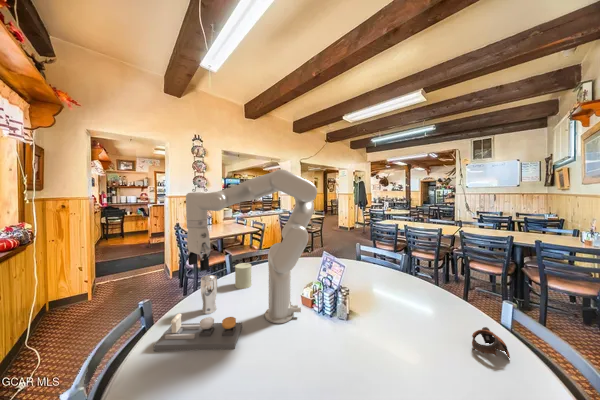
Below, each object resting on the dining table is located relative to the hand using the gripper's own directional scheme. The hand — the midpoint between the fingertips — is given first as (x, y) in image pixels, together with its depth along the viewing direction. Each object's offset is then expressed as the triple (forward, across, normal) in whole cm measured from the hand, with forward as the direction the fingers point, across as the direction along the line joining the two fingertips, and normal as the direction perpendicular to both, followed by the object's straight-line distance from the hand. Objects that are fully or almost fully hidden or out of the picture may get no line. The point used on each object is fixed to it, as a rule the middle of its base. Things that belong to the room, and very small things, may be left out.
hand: (198, 266), depth 87 cm
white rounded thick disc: (+20, -9, +2) cm, 22 cm away
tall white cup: (+24, +8, -8) cm, 27 cm away
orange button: (+20, -15, -4) cm, 26 cm away
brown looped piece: (+26, -89, -58) cm, 109 cm away
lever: (+22, -1, +9) cm, 24 cm away
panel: (+24, -7, +3) cm, 26 cm away
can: (+25, +18, -34) cm, 46 cm away
